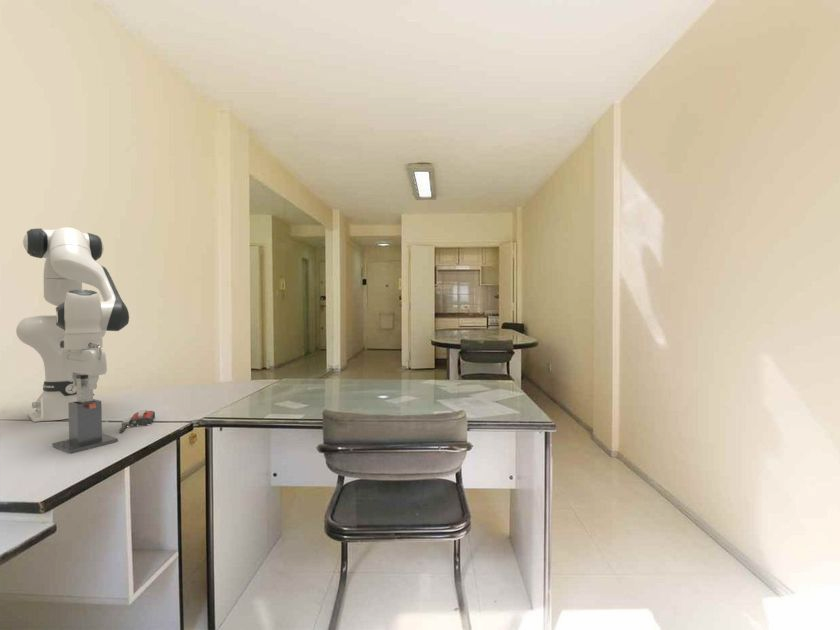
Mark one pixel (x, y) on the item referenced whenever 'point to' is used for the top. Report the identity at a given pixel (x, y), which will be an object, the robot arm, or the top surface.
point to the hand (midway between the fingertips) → (84, 387)
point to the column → (83, 390)
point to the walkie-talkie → (139, 419)
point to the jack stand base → (84, 428)
